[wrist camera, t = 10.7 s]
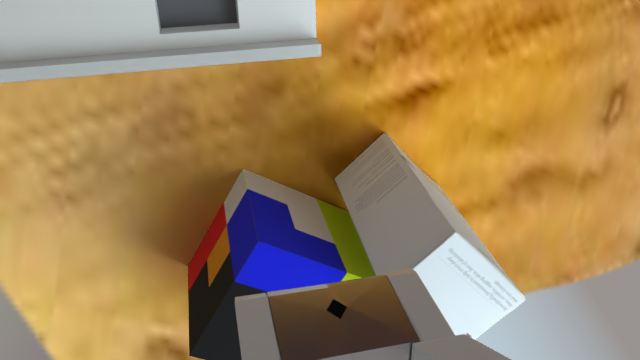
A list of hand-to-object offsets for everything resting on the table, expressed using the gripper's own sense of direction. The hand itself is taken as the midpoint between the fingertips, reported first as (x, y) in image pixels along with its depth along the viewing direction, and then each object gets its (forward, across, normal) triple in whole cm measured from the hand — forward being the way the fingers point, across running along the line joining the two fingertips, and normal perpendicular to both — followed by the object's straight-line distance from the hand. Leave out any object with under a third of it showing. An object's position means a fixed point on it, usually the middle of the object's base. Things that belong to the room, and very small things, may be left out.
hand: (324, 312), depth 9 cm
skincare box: (+31, -12, +16) cm, 37 cm away
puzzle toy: (+31, -2, +20) cm, 37 cm away
